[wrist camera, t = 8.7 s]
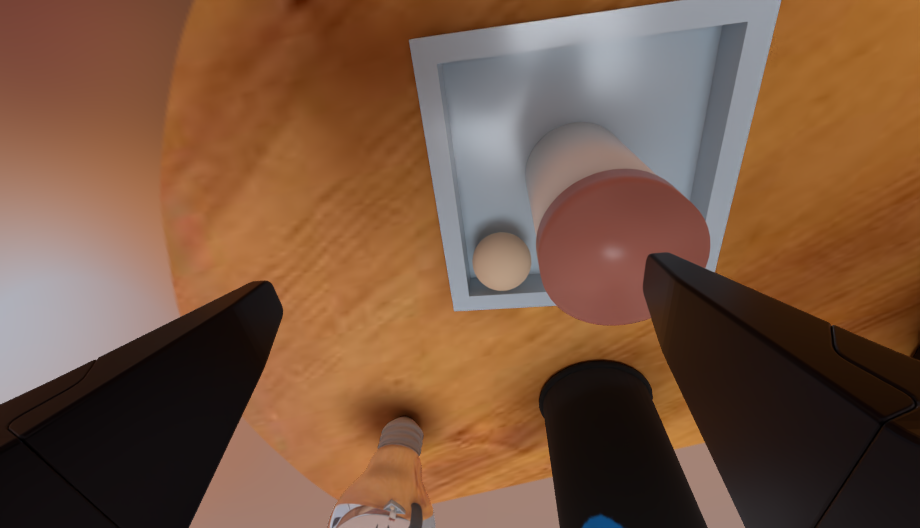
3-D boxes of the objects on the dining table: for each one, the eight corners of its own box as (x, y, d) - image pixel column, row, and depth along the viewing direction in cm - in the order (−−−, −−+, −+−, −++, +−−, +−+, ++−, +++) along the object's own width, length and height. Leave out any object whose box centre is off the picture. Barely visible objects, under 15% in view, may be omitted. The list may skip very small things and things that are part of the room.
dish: (747, -11, 16) (784, -15, 14) (689, 272, 24) (708, 297, 22) (418, 37, 18) (408, 39, 16) (457, 286, 25) (454, 311, 23)
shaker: (631, 113, 19) (726, 176, 11) (622, 214, 21) (694, 321, 14) (520, 126, 19) (537, 193, 12) (525, 222, 22) (541, 329, 14)
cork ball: (528, 219, 22) (532, 247, 19) (529, 268, 24) (534, 300, 21) (470, 224, 22) (467, 252, 20) (476, 272, 24) (474, 304, 21)
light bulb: (354, 430, 34) (295, 605, 24) (378, 380, 30) (321, 560, 20) (429, 454, 35) (403, 632, 25) (461, 408, 32) (445, 593, 21)
